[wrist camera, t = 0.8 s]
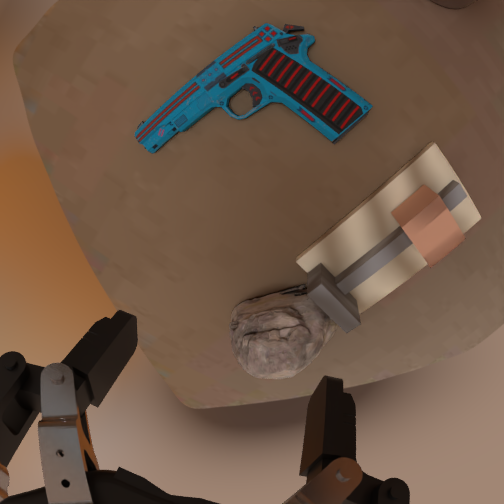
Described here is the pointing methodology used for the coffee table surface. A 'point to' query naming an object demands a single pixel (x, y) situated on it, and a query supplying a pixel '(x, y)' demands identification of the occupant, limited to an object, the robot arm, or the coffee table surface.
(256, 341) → the rock
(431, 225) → the slider block
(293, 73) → the handgun
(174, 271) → the coffee table surface
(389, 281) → the rail board
